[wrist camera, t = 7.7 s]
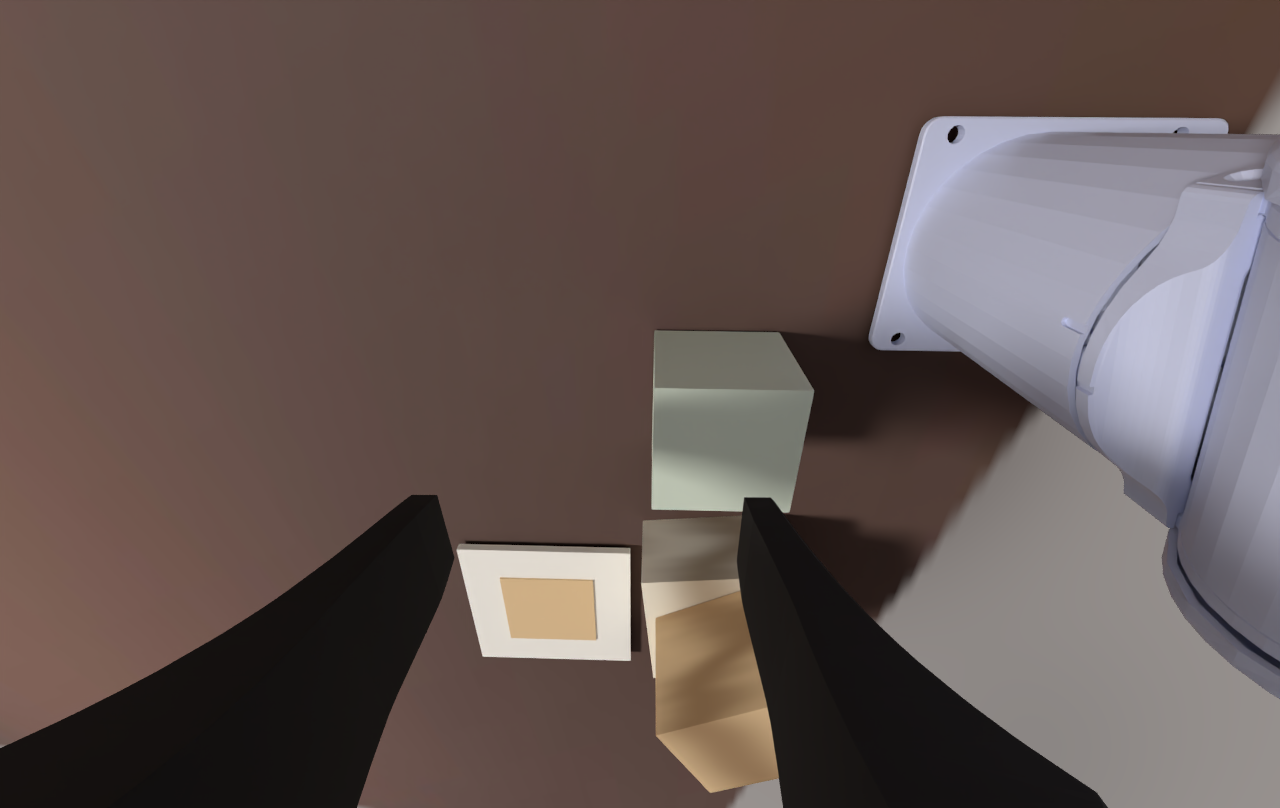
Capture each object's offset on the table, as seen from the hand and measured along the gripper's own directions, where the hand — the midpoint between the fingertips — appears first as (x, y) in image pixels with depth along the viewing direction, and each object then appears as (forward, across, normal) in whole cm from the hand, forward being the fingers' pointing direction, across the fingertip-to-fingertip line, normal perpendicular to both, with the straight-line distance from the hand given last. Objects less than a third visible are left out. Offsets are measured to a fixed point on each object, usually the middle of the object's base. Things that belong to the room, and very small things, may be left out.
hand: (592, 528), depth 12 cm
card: (+10, +4, +15) cm, 19 cm away
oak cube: (+6, -5, +12) cm, 15 cm away
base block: (+10, -5, +12) cm, 17 cm away
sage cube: (+10, -4, +1) cm, 11 cm away
